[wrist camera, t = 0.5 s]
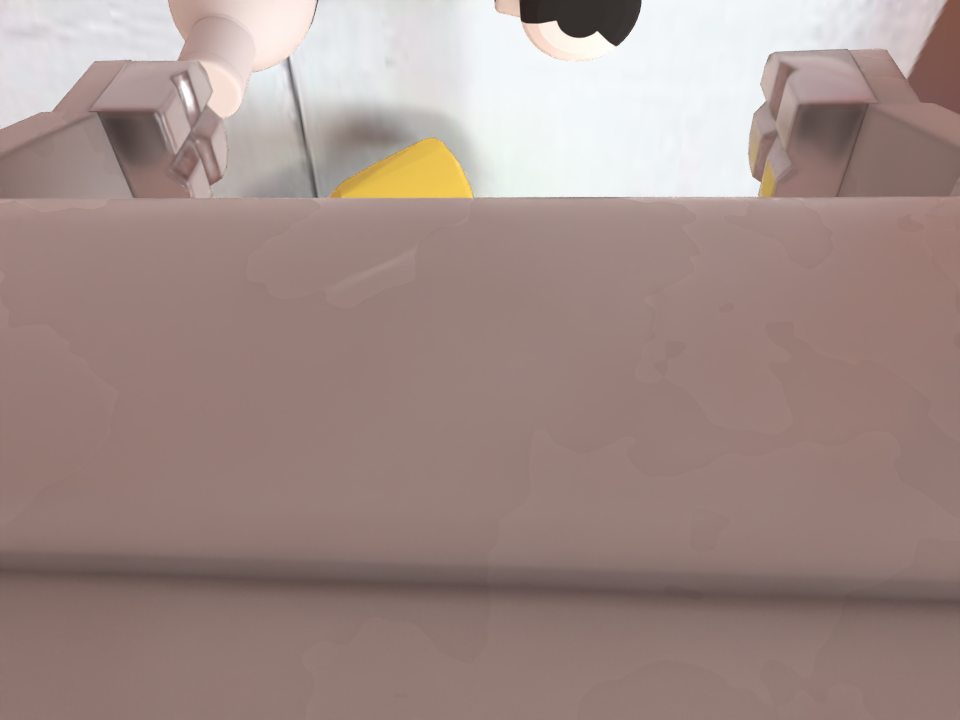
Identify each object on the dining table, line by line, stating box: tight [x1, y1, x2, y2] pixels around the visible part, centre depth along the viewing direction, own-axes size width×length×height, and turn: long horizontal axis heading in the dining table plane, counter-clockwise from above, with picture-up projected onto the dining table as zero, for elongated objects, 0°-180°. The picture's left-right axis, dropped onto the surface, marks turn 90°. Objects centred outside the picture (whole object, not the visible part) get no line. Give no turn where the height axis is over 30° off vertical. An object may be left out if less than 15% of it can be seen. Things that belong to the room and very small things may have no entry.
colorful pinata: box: [324, 138, 474, 198], centre depth 70 cm, size 32×29×35 cm
